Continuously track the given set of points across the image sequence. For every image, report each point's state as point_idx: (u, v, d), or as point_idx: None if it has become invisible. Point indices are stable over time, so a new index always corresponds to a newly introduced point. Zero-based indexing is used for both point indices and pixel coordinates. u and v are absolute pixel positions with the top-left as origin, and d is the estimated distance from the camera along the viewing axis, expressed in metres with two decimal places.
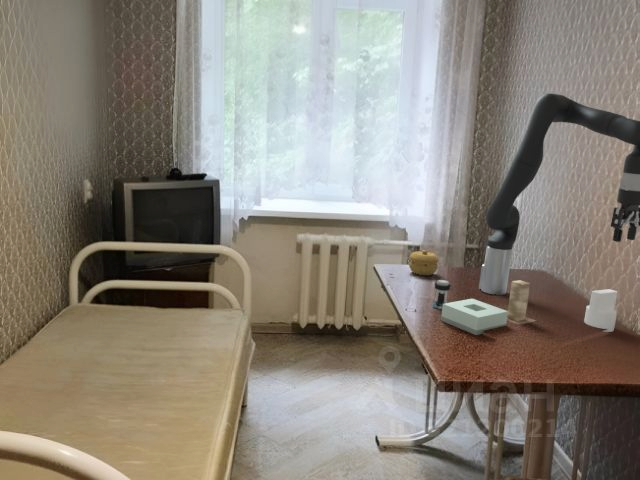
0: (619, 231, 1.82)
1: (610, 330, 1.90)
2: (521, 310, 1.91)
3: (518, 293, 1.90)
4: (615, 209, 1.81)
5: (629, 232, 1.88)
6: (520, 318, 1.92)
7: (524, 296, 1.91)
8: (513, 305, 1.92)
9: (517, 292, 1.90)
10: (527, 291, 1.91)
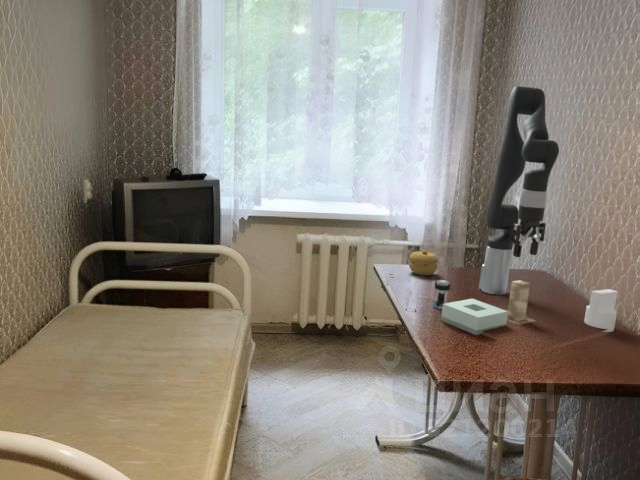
0: (518, 247, 1.85)
1: (610, 330, 1.90)
2: (521, 310, 1.91)
3: (518, 293, 1.90)
4: (513, 225, 1.84)
5: (531, 247, 1.92)
6: (520, 318, 1.92)
7: (524, 296, 1.91)
8: (513, 305, 1.92)
9: (517, 292, 1.90)
10: (527, 291, 1.91)
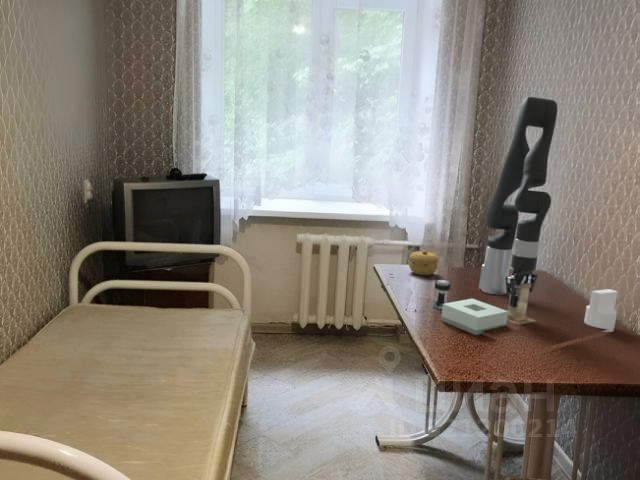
0: (515, 297, 1.90)
1: (610, 330, 1.90)
2: (521, 310, 1.91)
3: None
4: (506, 279, 1.88)
5: None
6: (520, 318, 1.92)
7: (524, 296, 1.91)
8: None
9: None
10: (527, 291, 1.91)
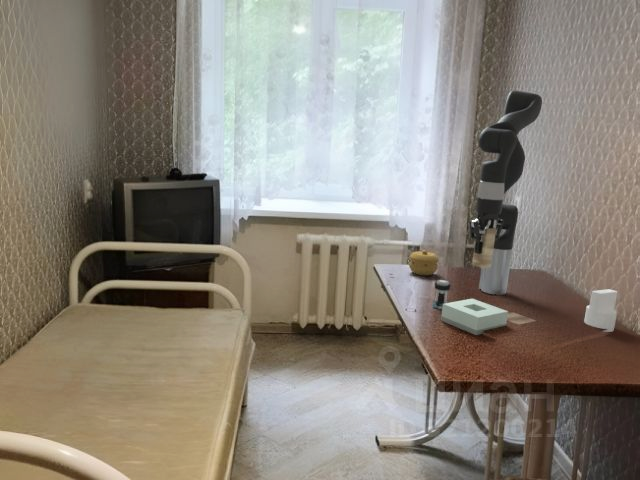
0: (479, 243, 1.80)
1: (610, 330, 1.90)
2: (487, 256, 1.81)
3: (484, 238, 1.80)
4: (470, 223, 1.78)
5: None
6: (486, 265, 1.82)
7: (490, 242, 1.81)
8: None
9: None
10: (493, 237, 1.81)
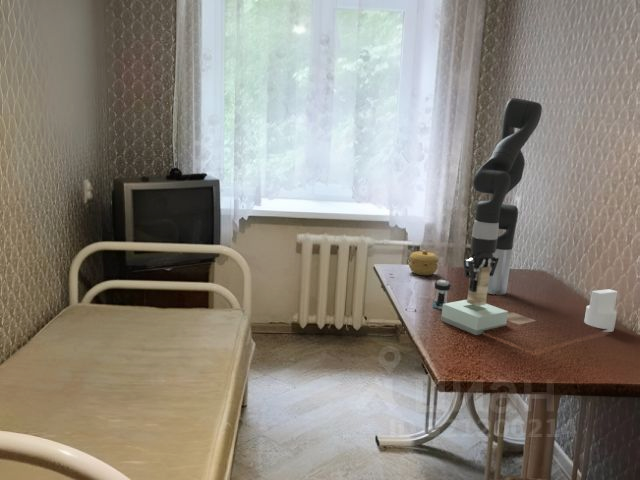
0: (474, 281, 1.82)
1: (610, 330, 1.90)
2: (481, 294, 1.84)
3: (478, 277, 1.82)
4: (465, 262, 1.80)
5: None
6: (480, 303, 1.84)
7: (485, 280, 1.83)
8: None
9: None
10: (487, 275, 1.83)
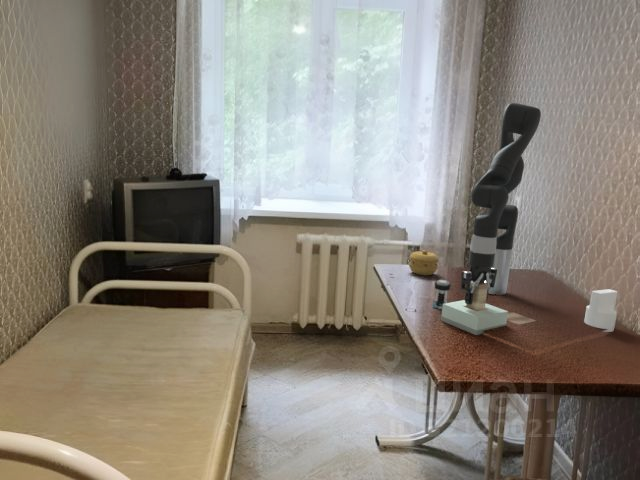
0: (469, 294, 1.82)
1: (610, 330, 1.90)
2: None
3: (476, 294, 1.83)
4: (463, 273, 1.81)
5: None
6: None
7: (482, 297, 1.84)
8: (471, 306, 1.85)
9: (474, 292, 1.84)
10: (485, 292, 1.84)
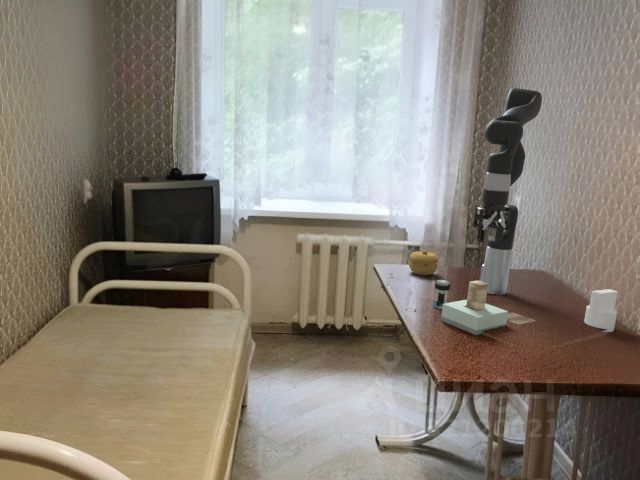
0: (482, 231, 1.81)
1: (610, 330, 1.90)
2: None
3: (476, 294, 1.83)
4: (476, 209, 1.79)
5: (497, 232, 1.87)
6: None
7: (482, 297, 1.84)
8: (471, 306, 1.85)
9: (474, 292, 1.84)
10: (485, 292, 1.84)
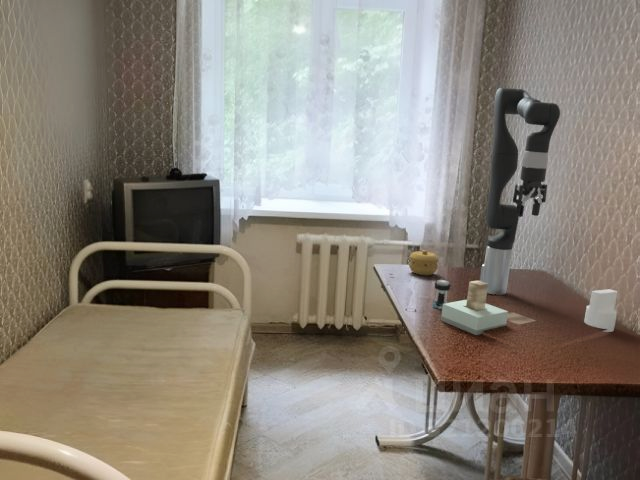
0: (521, 206, 1.92)
1: (610, 330, 1.90)
2: None
3: (476, 294, 1.83)
4: (516, 185, 1.91)
5: (533, 208, 1.98)
6: None
7: (482, 297, 1.84)
8: (471, 306, 1.85)
9: (474, 292, 1.84)
10: (485, 292, 1.84)
